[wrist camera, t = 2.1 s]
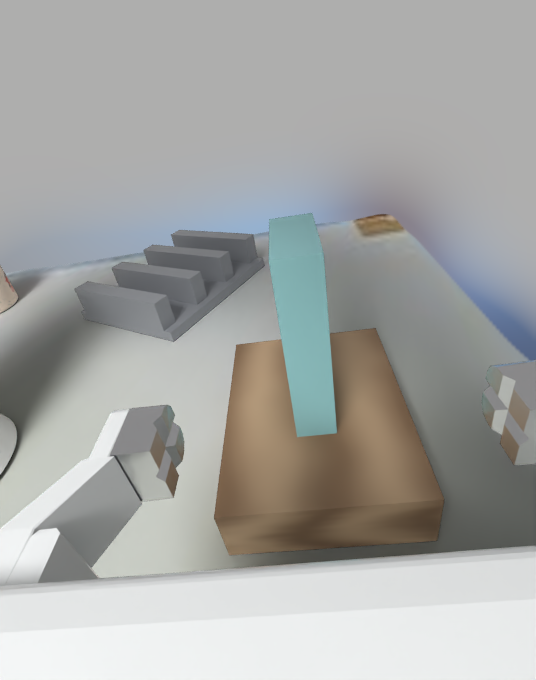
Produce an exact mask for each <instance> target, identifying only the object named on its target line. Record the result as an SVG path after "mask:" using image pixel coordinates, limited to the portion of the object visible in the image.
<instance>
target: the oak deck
mask: <svg viewBox="0 0 536 680" xmlns="http://www.w3.org/2000/svg"><path fill="white" fill-rule="evenodd" d="M330 347H331V360H332V373H333V387H334V400H335V413H336V427H337V433H334V434H324V435H314V436H303V437H297V433H296V427H295V421H294V414H293V408H292V402H291V396H290V389H289V383H288V377H287V371H286V365H285V358H284V352H283V346H282V340H272V341H264V342H256V343H247V344H239V345H236V352H235V360H234V367H233V375H232V383H231V391H230V398H229V406H228V414H227V421H226V429H225V437H224V445H223V452H222V460H221V468H220V476H219V483H218V491H217V499H216V507H215V514H214V519H215V521H216V524H217V526H218V529H219V531H220V533H221V536H222V538H223V541H224V543H225V546H226V548H227V550H228V553H229V555H239V554H253V553H268V552H282V551H297V550H311V549H326V548H340V547H355V546H369V545H383V544H398V543H412V542H427V541H437V538H438V533H439V527H440V522H441V516H442V511H443V505H444V497H443V495H442V492H441V490H440V487H439V485H438V482H437V480H436V477H435V475H434V472H433V470H432V467H431V465H430V462H429V460H428V457H427V455H426V452H425V450H424V448H423V445H422V443H421V440H420V438H419V435H418V433H417V430H416V428H415V425H414V423H413V420H412V418H411V415H410V413H409V410H408V408H407V405H406V403H405V400H404V398H403V395H402V393H401V390H400V388H399V385H398V383H397V380H396V378H395V375H394V373H393V370H392V368H391V365H390V363H389V360H388V358H387V355H386V353H385V351H384V348H383V346H382V343H381V341H380V338H379V336H378V333H377V331H376V328H372V329H364V330H356V331H347V332H339V333H331V334H330Z"/></svg>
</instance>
